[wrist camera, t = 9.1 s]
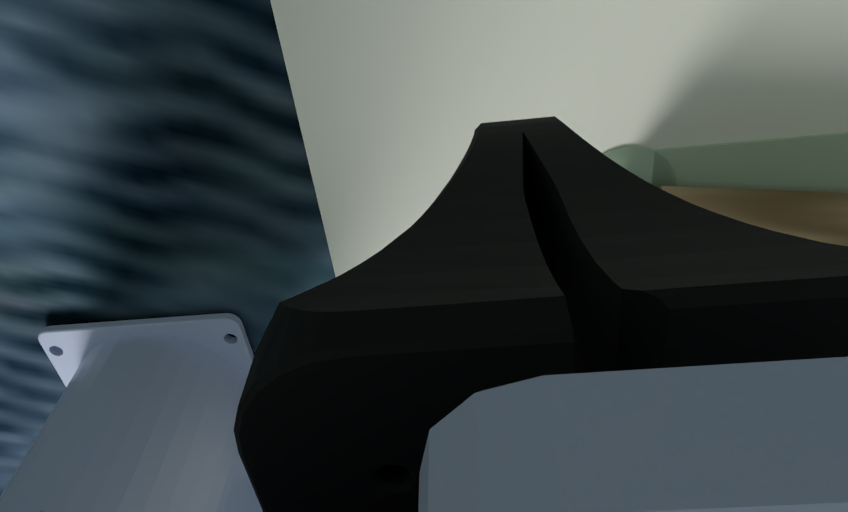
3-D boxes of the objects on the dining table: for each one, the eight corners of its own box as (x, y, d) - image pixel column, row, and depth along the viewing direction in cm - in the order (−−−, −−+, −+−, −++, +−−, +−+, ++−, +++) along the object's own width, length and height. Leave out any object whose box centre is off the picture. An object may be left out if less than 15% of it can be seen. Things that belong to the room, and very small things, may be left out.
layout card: (936, 440, 29) (943, 449, 29) (383, 468, 31) (382, 477, 31) (1336, -373, 14) (1362, -377, 14) (223, -217, 16) (218, -217, 16)
